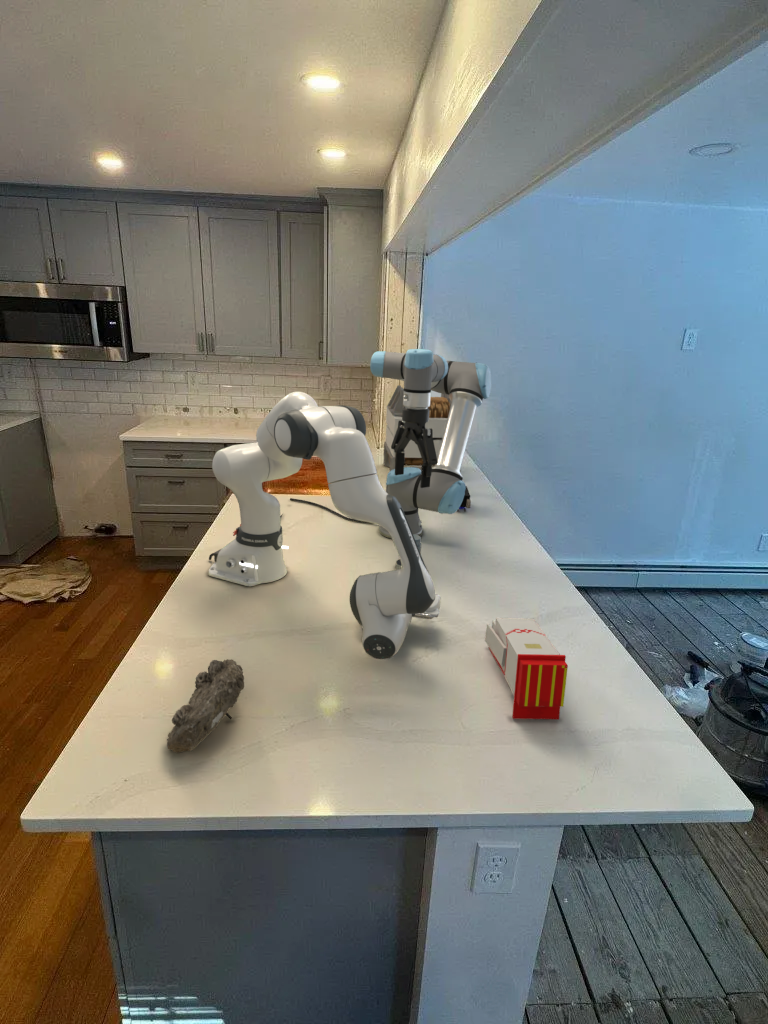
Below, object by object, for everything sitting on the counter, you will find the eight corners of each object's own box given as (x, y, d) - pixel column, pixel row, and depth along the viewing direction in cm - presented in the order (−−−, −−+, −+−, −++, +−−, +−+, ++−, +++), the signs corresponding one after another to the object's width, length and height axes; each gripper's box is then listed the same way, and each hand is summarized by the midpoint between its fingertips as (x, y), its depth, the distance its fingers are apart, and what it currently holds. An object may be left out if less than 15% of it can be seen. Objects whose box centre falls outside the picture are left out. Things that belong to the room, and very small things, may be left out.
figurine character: (470, 516, 223) (465, 500, 237) (473, 499, 220) (467, 484, 233) (453, 516, 223) (449, 500, 236) (455, 498, 220) (451, 483, 233)
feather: (290, 508, 223) (292, 504, 223) (272, 532, 197) (275, 527, 196) (286, 505, 223) (289, 501, 223) (268, 529, 197) (271, 525, 196)
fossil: (192, 660, 117) (244, 628, 112) (224, 691, 120) (276, 661, 115) (142, 746, 98) (202, 712, 93) (182, 779, 101) (242, 748, 96)
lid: (416, 573, 171) (417, 567, 170) (396, 572, 170) (396, 566, 170) (414, 564, 177) (415, 558, 176) (394, 564, 176) (395, 558, 176)
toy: (531, 603, 136) (576, 661, 106) (526, 655, 139) (569, 725, 109) (481, 602, 135) (512, 660, 106) (477, 654, 138) (507, 724, 109)
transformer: (382, 463, 289) (386, 382, 275) (445, 464, 293) (451, 384, 279) (390, 482, 257) (394, 392, 243) (460, 483, 261) (468, 394, 247)
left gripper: (438, 606, 132) (445, 581, 144) (353, 594, 135) (367, 570, 148) (436, 630, 134) (443, 603, 146) (353, 617, 138) (367, 592, 150)
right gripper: (381, 400, 165) (378, 471, 172) (431, 415, 145) (425, 494, 152) (403, 399, 169) (399, 468, 176) (454, 414, 149) (447, 491, 156)
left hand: (404, 586), depth 147 cm, fingers open, 8 cm apart
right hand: (411, 480), depth 164 cm, fingers open, 13 cm apart
